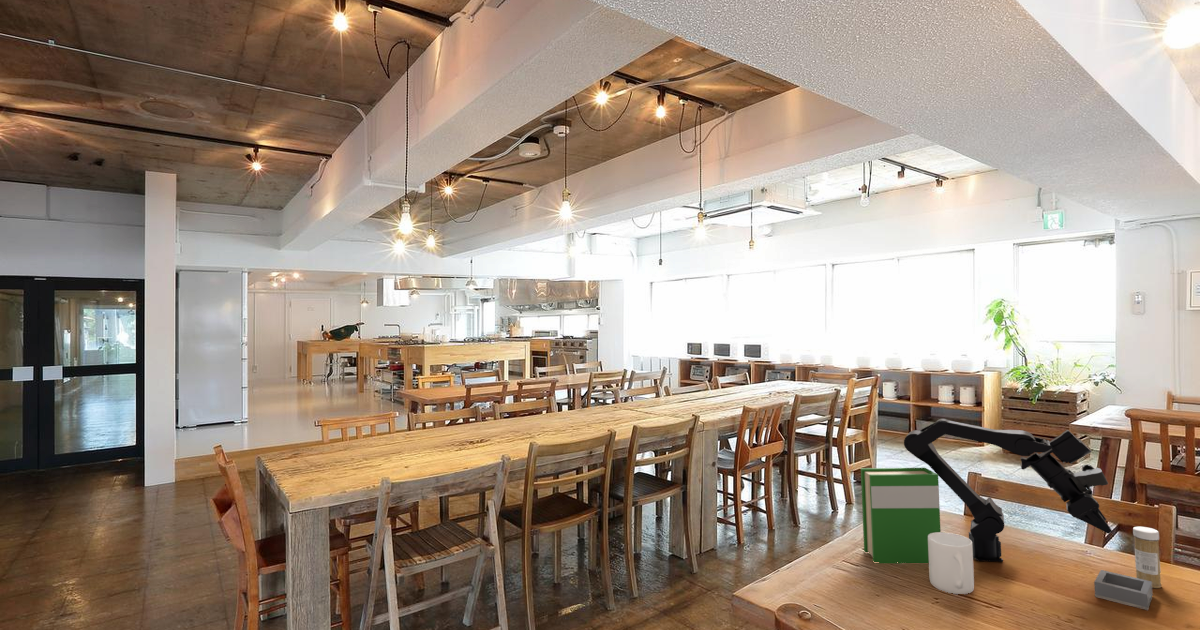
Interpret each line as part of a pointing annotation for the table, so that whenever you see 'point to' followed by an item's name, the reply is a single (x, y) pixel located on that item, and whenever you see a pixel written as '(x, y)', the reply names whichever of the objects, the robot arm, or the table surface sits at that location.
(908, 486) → the hardback book
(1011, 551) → the table surface
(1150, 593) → the holder
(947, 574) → the mug
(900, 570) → the table surface
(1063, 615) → the table surface
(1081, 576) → the table surface
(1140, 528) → the sprinkles bottle
